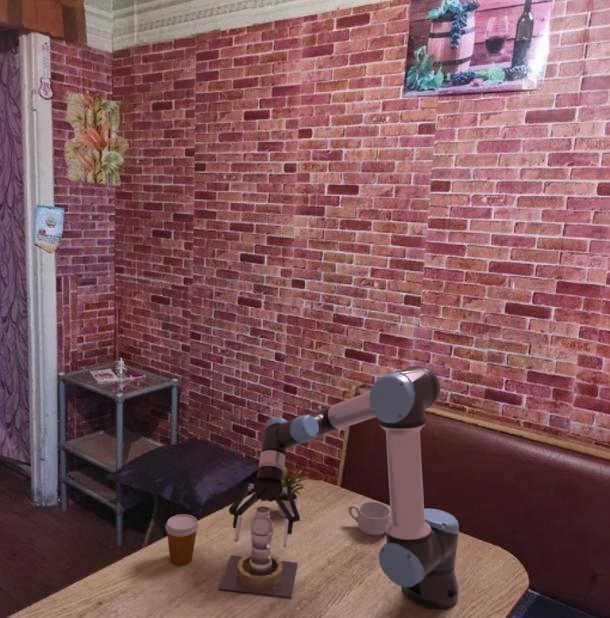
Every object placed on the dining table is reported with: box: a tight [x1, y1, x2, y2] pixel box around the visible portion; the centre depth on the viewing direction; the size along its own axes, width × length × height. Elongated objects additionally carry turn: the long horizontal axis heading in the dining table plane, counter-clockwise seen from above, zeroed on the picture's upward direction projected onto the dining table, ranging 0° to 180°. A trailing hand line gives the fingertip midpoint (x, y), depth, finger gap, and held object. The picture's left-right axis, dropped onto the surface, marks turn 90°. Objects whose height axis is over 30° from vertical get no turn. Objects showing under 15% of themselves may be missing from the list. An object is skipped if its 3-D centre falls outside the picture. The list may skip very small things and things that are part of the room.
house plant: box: [277, 465, 309, 518], centre depth 202 cm, size 14×14×16 cm
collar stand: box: [217, 553, 299, 600], centre depth 168 cm, size 20×16×4 cm
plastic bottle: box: [249, 505, 275, 576], centre depth 166 cm, size 6×7×20 cm
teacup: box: [348, 500, 391, 537], centre depth 196 cm, size 14×11×8 cm
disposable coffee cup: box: [164, 514, 200, 567], centre depth 173 cm, size 10×10×12 cm
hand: (260, 543), depth 164 cm, fingers open, 13 cm apart
